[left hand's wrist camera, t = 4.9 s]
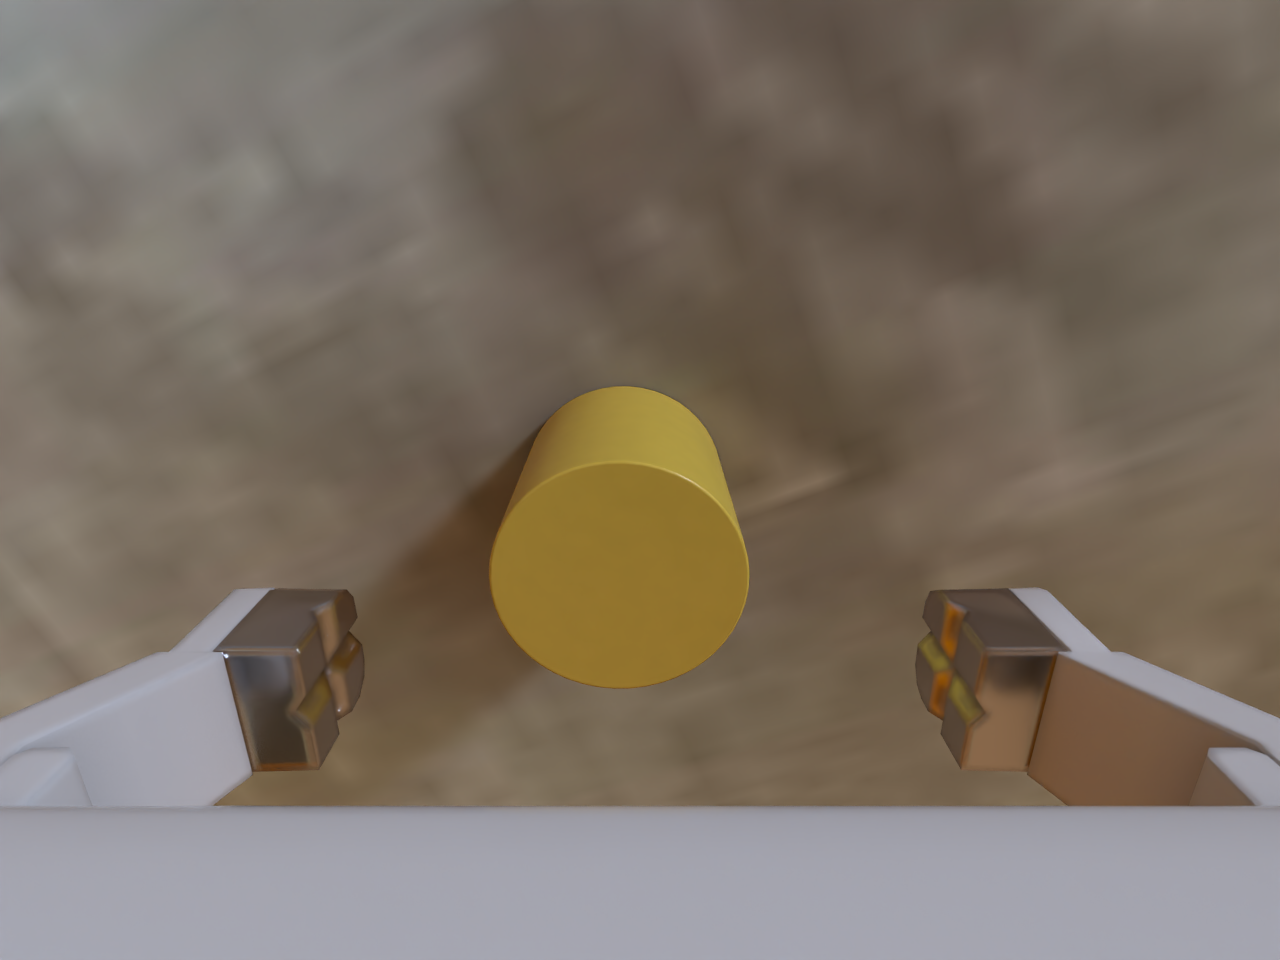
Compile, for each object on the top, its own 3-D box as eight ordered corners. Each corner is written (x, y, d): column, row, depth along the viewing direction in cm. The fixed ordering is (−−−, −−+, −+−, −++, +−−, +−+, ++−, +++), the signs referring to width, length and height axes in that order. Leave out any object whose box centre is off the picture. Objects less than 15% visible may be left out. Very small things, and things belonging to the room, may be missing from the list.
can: (490, 439, 15) (437, 531, 11) (668, 351, 14) (680, 415, 10) (585, 592, 16) (568, 723, 12) (751, 517, 15) (790, 631, 11)
